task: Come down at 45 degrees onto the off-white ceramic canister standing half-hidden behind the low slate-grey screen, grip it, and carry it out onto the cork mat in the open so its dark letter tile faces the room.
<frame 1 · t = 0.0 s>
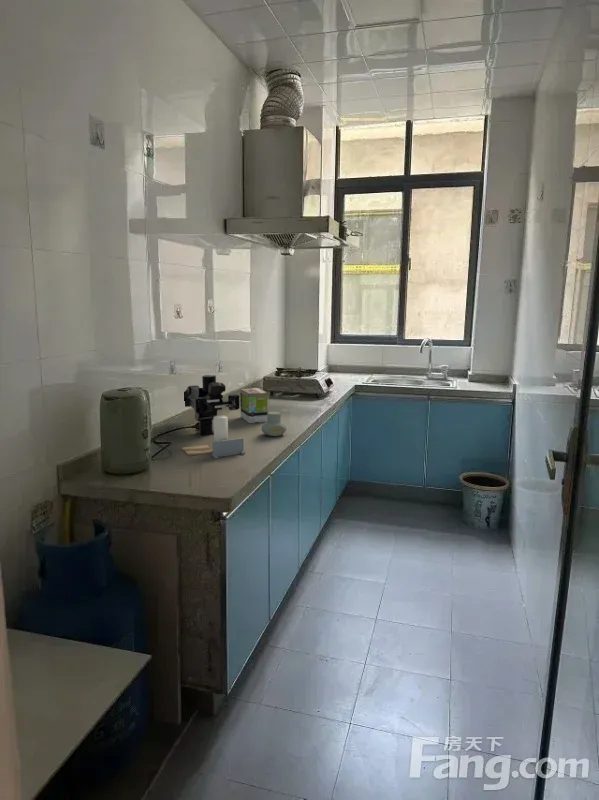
hand: (223, 407, 214), 17 cm above the counter, tool horizontal, fingers open, 9 cm apart
canister: (221, 451, 212), on the counter
tea box: (253, 420, 265), on the counter
screen: (228, 454, 207), on the counter
air freshener: (274, 435, 237), on the counter
mat: (198, 450, 212), on the counter
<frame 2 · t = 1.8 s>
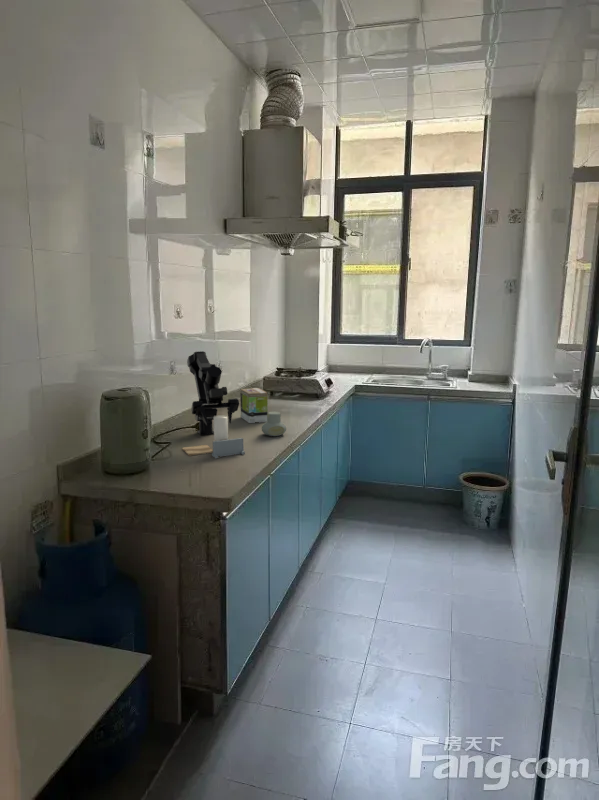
hand: (218, 423, 213), 10 cm above the counter, tool tilted 45°, fingers open, 9 cm apart
nothing on the counter moved.
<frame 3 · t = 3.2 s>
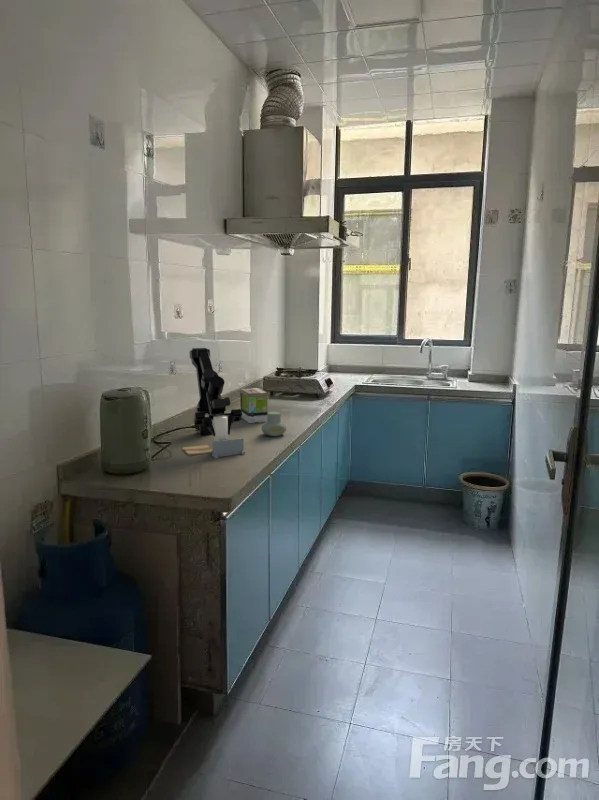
hand: (221, 435, 209), 7 cm above the counter, tool tilted 45°, fingers closed on canister, 5 cm apart
canister: (221, 451, 212), on the counter, touching gripper
everything else where it was.
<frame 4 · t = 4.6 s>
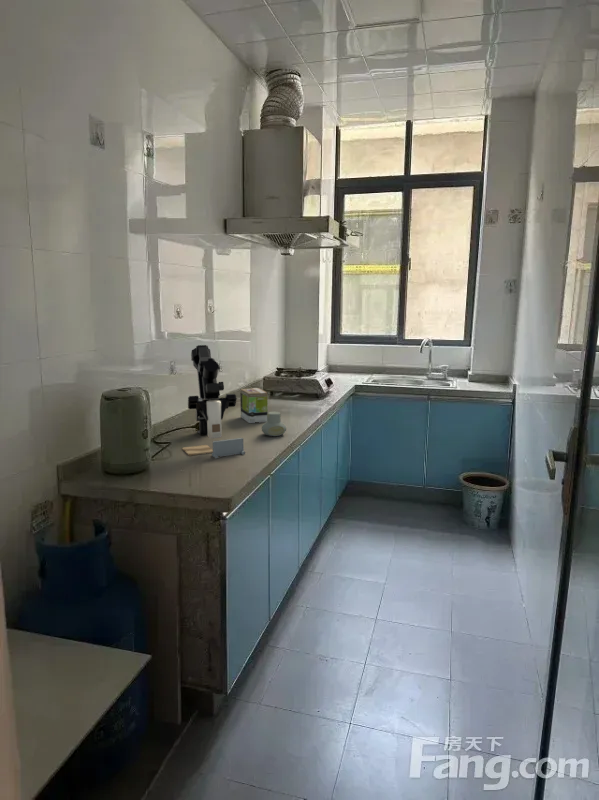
hand: (214, 419, 208), 13 cm above the counter, tool tilted 45°, fingers closed on canister, 5 cm apart
canister: (214, 436, 211), point 6 cm above the counter, touching gripper
everything else where it was.
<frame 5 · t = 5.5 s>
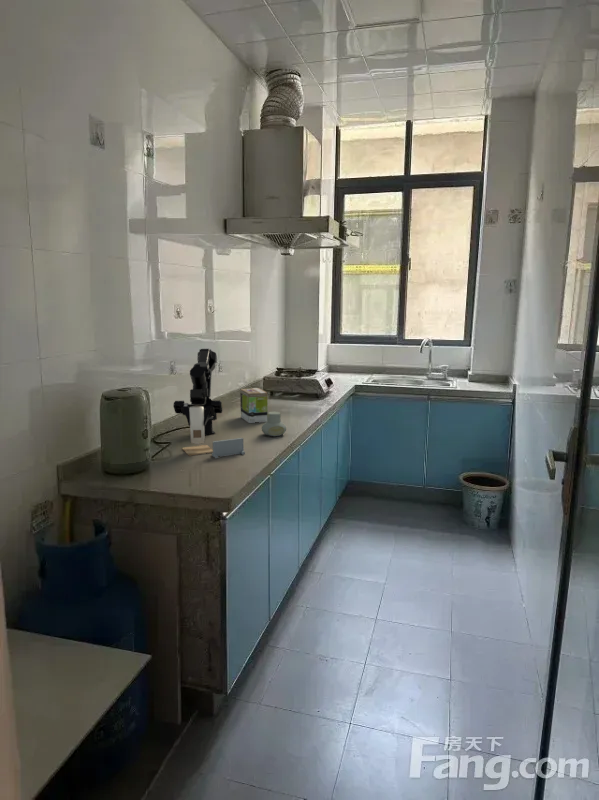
hand: (196, 425, 209), 11 cm above the counter, tool tilted 45°, fingers closed on canister, 5 cm apart
canister: (197, 441, 212), point 4 cm above the counter, touching gripper
everything else where it was.
when the fingers open (9 cm above the counter, at t = 6.3 s): canister stays where it is, resting on mat.
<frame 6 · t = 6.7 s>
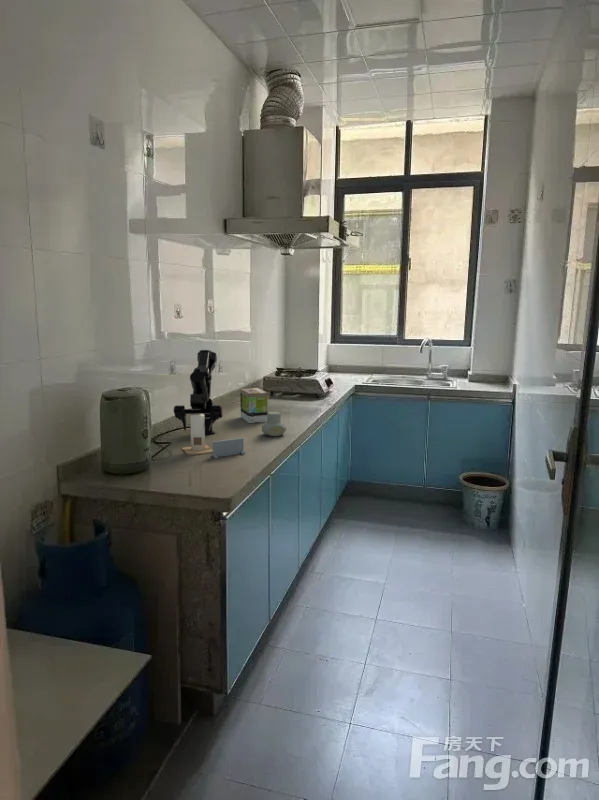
hand: (196, 430, 209), 9 cm above the counter, tool tilted 45°, fingers open, 9 cm apart
canister: (198, 449, 212), point 1 cm above the counter, touching mat
everything else where it was.
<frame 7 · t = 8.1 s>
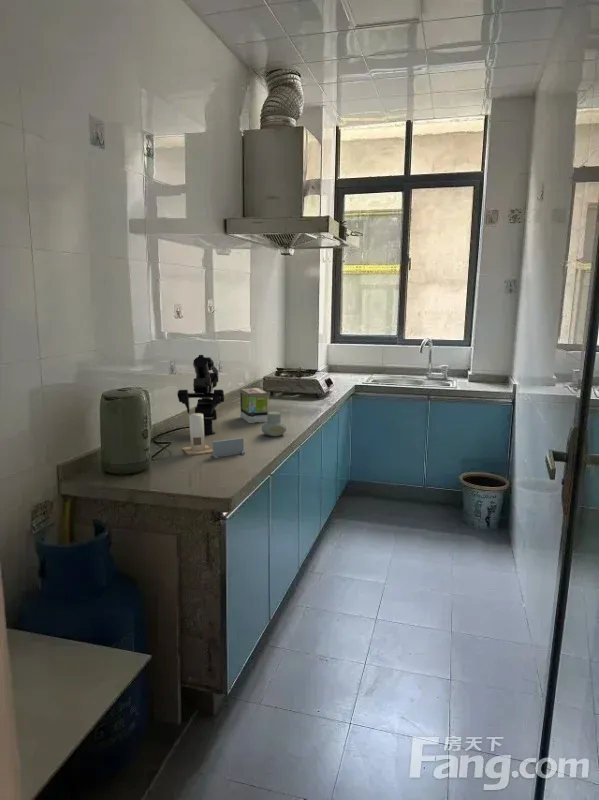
hand: (199, 412, 218), 14 cm above the counter, tool tilted 45°, fingers open, 9 cm apart
nothing on the counter moved.
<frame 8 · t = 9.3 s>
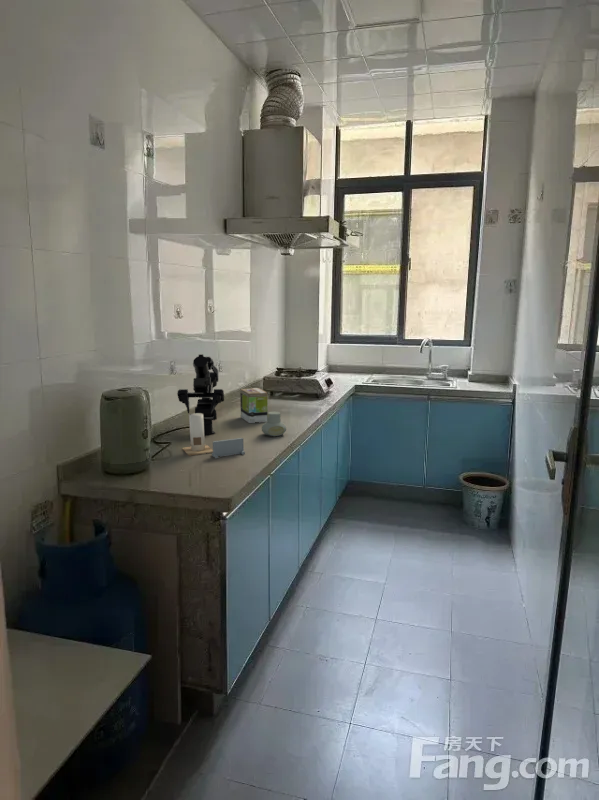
hand: (199, 412, 218), 14 cm above the counter, tool tilted 45°, fingers open, 9 cm apart
nothing on the counter moved.
at the end: canister inside the target area on the mat (0.1 cm from its centre), point 0.7 cm above the mat's base; canister tilted 1°; the gripper is holding nothing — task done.
